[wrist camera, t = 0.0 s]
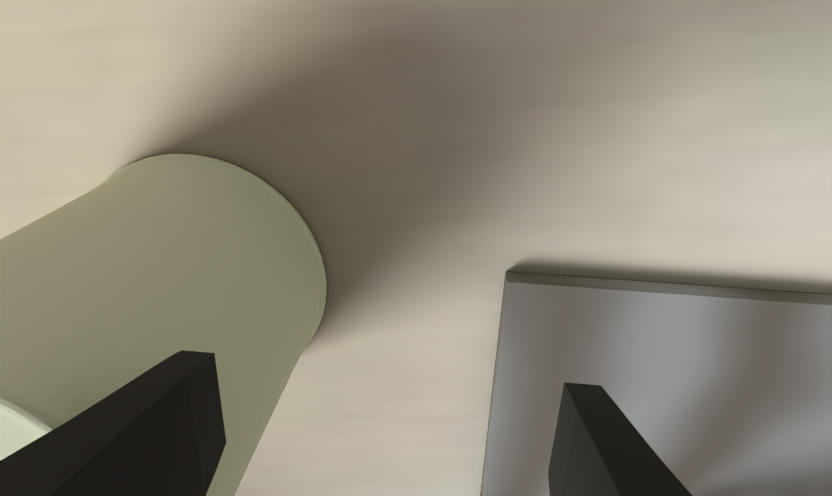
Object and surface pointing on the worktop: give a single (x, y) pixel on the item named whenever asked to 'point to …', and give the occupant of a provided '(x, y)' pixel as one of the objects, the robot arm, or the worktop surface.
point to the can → (158, 298)
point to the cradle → (668, 380)
